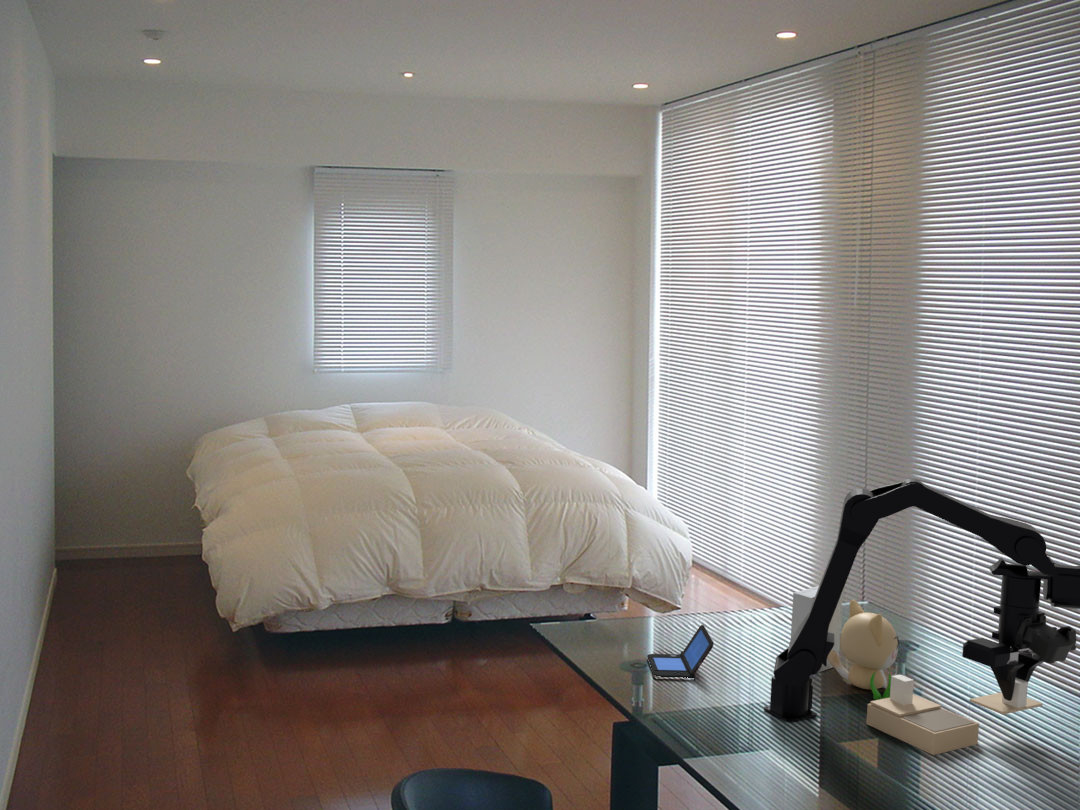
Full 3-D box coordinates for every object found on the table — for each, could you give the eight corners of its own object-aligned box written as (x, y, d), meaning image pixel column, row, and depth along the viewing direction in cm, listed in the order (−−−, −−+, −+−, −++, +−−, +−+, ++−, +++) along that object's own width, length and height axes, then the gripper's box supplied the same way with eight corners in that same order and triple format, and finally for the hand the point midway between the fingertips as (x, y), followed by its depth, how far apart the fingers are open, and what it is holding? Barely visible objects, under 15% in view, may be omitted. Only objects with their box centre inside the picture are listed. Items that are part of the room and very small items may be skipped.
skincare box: (814, 659, 219) (818, 584, 217) (840, 667, 214) (844, 591, 213) (787, 667, 213) (791, 590, 212) (813, 675, 209) (817, 597, 207)
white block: (1003, 714, 175) (1004, 687, 175) (969, 701, 181) (971, 674, 181) (1042, 705, 180) (1044, 679, 180) (1008, 693, 186) (1010, 667, 185)
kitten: (915, 701, 197) (920, 617, 195) (863, 704, 195) (867, 619, 193) (872, 673, 211) (876, 595, 210) (823, 675, 209) (827, 596, 208)
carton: (933, 755, 173) (934, 733, 172) (866, 723, 185) (867, 703, 185) (977, 744, 178) (979, 722, 177) (909, 714, 190) (910, 694, 190)
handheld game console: (646, 659, 216) (647, 621, 216) (701, 660, 217) (703, 623, 216) (653, 681, 204) (655, 641, 203) (712, 682, 204) (714, 642, 203)
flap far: (899, 716, 179) (901, 690, 179) (870, 703, 185) (871, 677, 184) (941, 707, 184) (942, 681, 183) (910, 695, 189) (912, 670, 189)
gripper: (1024, 623, 166) (1016, 725, 168) (1103, 610, 175) (1095, 706, 177) (963, 604, 176) (956, 701, 177) (1041, 593, 185) (1034, 684, 187)
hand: (1012, 698), depth 179 cm, fingers closed on white block, 2 cm apart
